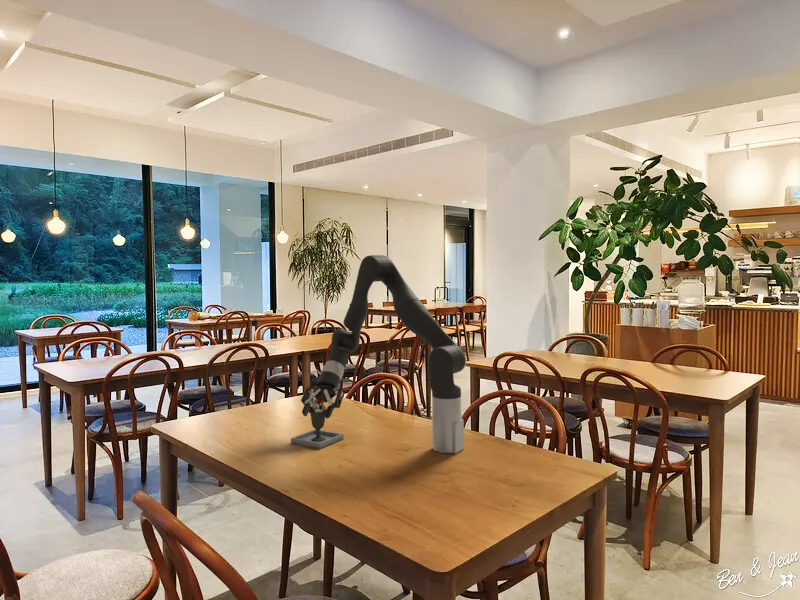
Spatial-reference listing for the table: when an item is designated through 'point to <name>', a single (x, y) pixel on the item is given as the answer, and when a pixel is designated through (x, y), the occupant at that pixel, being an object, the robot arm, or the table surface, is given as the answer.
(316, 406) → the sundae
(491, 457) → the table surface
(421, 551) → the table surface
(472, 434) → the table surface
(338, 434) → the tray
